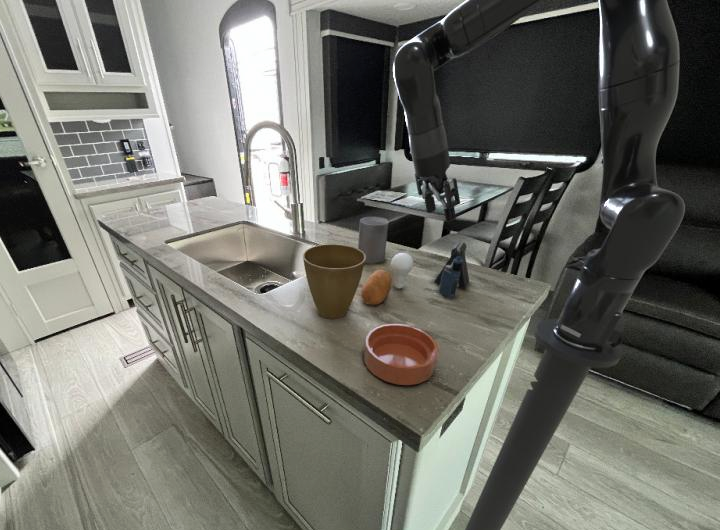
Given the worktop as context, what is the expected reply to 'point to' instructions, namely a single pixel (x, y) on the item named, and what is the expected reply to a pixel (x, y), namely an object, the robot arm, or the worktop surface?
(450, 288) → the vaping device
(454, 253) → the phone stand
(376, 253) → the pillar candle
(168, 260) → the worktop surface
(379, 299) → the potato
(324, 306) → the plant pot
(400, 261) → the lightbulb
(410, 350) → the bowl
